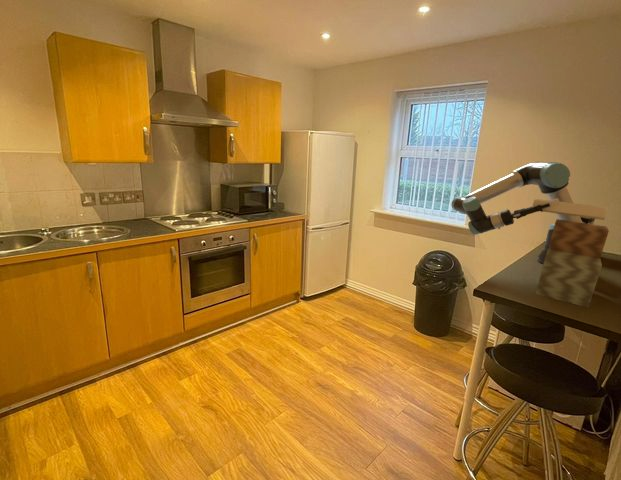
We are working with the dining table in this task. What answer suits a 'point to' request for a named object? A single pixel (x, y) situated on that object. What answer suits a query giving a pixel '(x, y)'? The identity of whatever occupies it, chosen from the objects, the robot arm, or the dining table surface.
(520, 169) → the robot arm
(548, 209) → the white long bar
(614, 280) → the dining table surface
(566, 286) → the two-tone wood block
